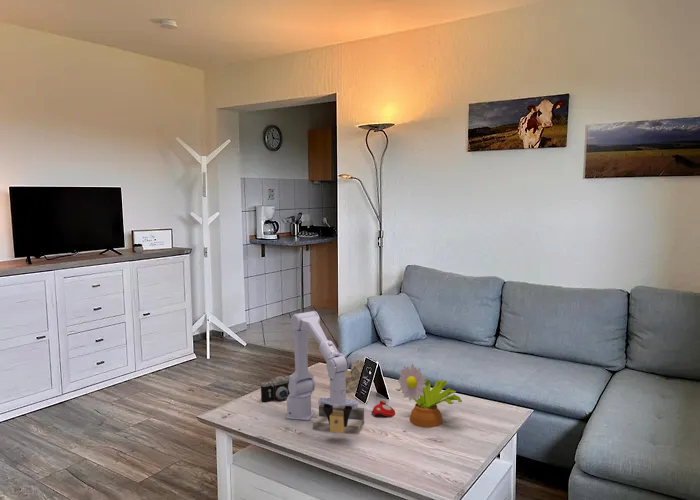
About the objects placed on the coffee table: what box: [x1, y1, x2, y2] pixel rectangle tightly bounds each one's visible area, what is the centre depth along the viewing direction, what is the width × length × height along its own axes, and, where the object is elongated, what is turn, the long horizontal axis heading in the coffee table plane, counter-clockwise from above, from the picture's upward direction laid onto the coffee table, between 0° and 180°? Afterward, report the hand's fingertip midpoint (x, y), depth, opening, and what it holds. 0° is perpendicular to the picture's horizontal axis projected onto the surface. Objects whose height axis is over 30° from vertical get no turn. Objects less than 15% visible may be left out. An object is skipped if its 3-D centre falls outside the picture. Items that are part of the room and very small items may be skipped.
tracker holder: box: [371, 398, 396, 418], centre depth 213 cm, size 12×4×10 cm
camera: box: [260, 375, 291, 404], centre depth 228 cm, size 15×7×10 cm, turn 122°
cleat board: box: [312, 405, 365, 435], centre depth 201 cm, size 18×10×6 cm, turn 76°
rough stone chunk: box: [345, 358, 365, 394], centre depth 242 cm, size 16×16×15 cm
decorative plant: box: [395, 363, 463, 429], centre depth 204 cm, size 27×24×25 cm
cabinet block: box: [329, 410, 347, 434], centre depth 188 cm, size 5×6×6 cm
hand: (338, 424), depth 189 cm, fingers closed on cabinet block, 5 cm apart
